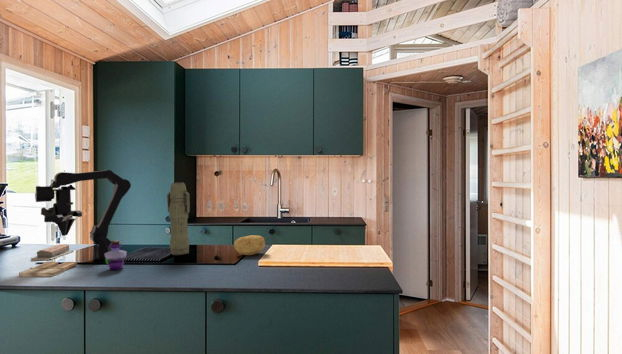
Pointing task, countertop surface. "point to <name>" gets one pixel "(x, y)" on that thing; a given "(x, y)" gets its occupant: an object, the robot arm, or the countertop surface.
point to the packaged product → (52, 252)
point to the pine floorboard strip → (41, 272)
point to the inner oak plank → (66, 265)
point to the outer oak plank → (47, 265)
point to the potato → (249, 244)
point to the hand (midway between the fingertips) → (64, 235)
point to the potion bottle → (115, 256)
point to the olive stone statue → (178, 218)
